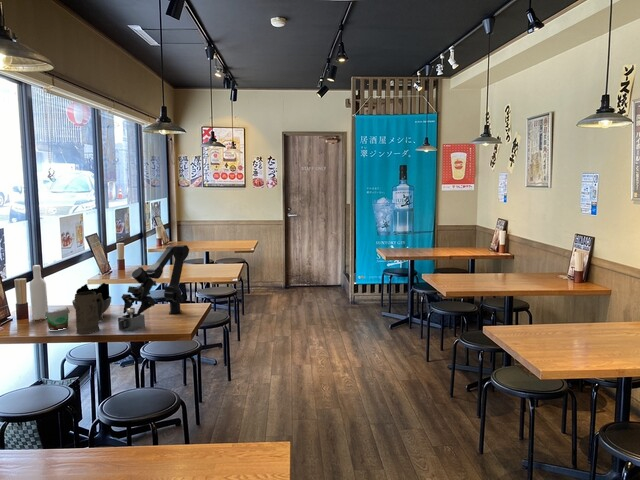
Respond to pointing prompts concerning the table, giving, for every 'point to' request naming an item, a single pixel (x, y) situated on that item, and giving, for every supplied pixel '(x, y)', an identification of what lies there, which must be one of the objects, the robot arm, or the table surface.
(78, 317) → the beer stein
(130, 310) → the plunger
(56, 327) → the food container
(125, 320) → the press body
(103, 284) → the coal bowl
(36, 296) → the bottle
